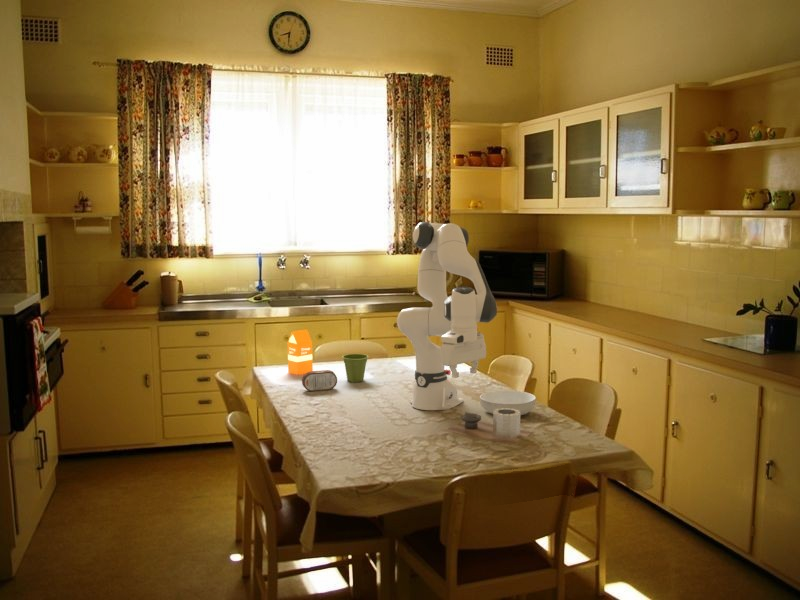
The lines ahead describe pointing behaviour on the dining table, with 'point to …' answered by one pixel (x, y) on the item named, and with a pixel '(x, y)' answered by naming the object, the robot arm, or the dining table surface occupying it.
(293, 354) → the orange juice
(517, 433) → the white cylinder
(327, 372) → the tin
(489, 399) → the serving bowl
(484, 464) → the dining table surface
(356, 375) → the plant pot
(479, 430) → the walnut board
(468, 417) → the control knob
